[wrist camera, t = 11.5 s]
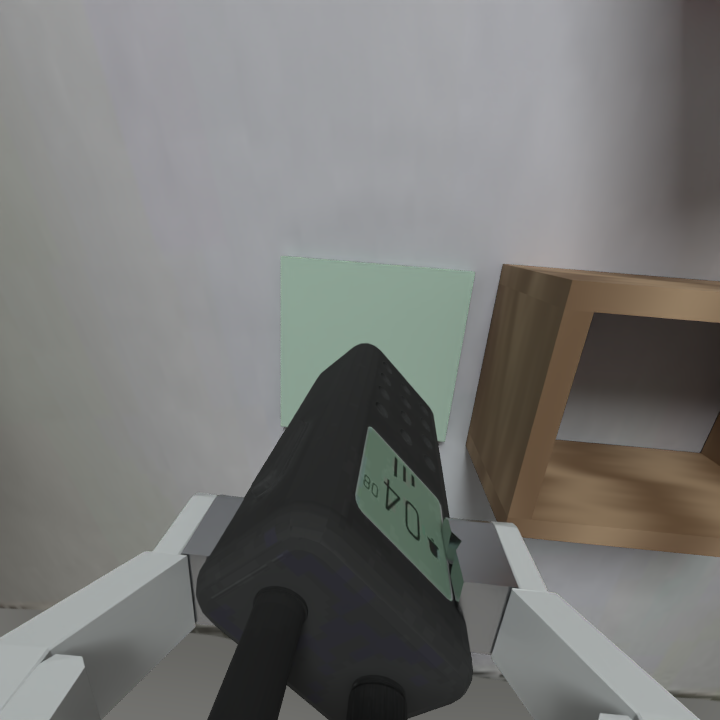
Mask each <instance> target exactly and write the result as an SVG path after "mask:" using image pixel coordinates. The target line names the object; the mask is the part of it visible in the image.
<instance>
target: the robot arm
mask: <svg viewBox="0 0 720 720" xmlns="http://www.w3.org/2000/svg"><path fill="white" fill-rule="evenodd" d="M243 499H244V497H236V496H227V495H215V494H207V493H199V492H198V493H197V494H195V495H193V496H192V497H191V499H190V500H189V501H188V503H187V504H186V506H185V507H184V508H183V510H182V511H181V513H180V514H179V515H178V517H177V518H176V519H175V521H174V522H173V524H172V525H171V526H170V528H169V529H168V531H167V532H166V533H165V535H164V536H163V538H162V539H161V540H160V542H159V543H158V544H157V546H156V547H155V549H154V550H153V551H152V552H151V551H144V552H143V553H141V554H139V555H138V556H136V557H134V558H133V559H131V560H129V561H128V562H126V563H124V564H123V565H121V566H119V567H118V568H116V569H114V570H112V571H111V572H109V573H107V574H106V575H104V576H102V577H101V578H99V579H97V580H96V581H94V582H92V583H91V584H89V585H87V586H86V587H84V588H82V589H81V590H79V591H77V592H76V593H74V594H72V595H71V596H69V597H67V598H66V599H64V600H62V601H61V602H59V603H57V604H56V605H54V606H52V607H50V608H49V609H47V610H45V611H44V612H42V613H40V614H39V615H37V616H35V617H34V618H32V619H30V620H29V621H27V622H25V623H24V624H22V625H21V626H19V627H17V628H15V629H14V630H12V631H10V632H9V633H7V634H5V635H4V636H2V637H0V720H102V719H103V718H104V717H105V716H106V715H107V714H108V713H109V712H110V711H111V710H112V709H113V708H114V707H115V706H116V705H117V704H118V703H119V702H120V701H121V700H122V699H123V698H124V697H125V696H126V695H127V694H128V693H129V692H130V691H131V690H132V689H133V688H134V687H135V686H136V685H137V684H138V683H139V682H140V681H141V680H142V679H143V678H144V677H145V676H146V675H147V674H148V673H149V672H150V671H151V670H152V669H153V668H154V667H155V666H156V665H157V664H158V663H159V662H160V661H161V660H162V659H163V658H164V657H165V656H166V655H167V654H168V653H169V652H170V651H171V650H172V649H173V648H174V647H175V646H176V645H177V644H179V642H180V641H182V640H183V639H184V638H185V637H186V636H187V635H188V634H189V633H190V632H191V631H192V630H193V629H194V628H195V624H206V625H214V624H213V623H212V622H211V621H210V620H209V619H208V618H207V617H206V616H205V615H204V614H203V613H202V610H201V608H200V606H199V604H198V601H197V597H196V584H197V577H198V574H199V571H200V569H201V568H202V566H203V564H204V563H205V561H206V560H207V558H208V557H209V556H210V554H211V553H212V551H213V549H214V548H215V546H216V544H217V543H218V541H219V539H220V538H221V536H222V535H223V533H224V531H225V530H226V528H227V526H228V525H229V523H230V521H231V520H232V518H233V516H234V515H235V513H236V511H237V510H238V508H239V506H240V505H241V503H242V501H243ZM441 533H442V538H443V543H444V548H445V553H446V557H447V559H448V561H449V564H450V565H451V567H452V570H451V574H450V577H451V581H452V586H453V591H454V595H455V600H456V604H457V608H458V610H459V611H460V613H461V615H462V620H463V621H464V623H465V624H466V626H467V633H468V639H469V645H470V652H473V653H480V654H488V655H491V658H492V660H493V661H494V663H495V664H496V666H497V667H498V668H499V670H500V671H501V673H502V674H503V676H504V677H505V679H506V680H507V681H508V683H509V684H510V686H511V687H512V689H513V690H514V691H515V693H516V695H517V696H518V697H519V699H520V700H521V702H522V703H523V705H524V706H525V707H526V709H527V710H528V712H529V713H530V715H531V716H532V718H533V719H534V720H700V719H699V718H697V717H696V716H695V715H694V714H693V713H692V712H691V711H689V710H688V709H687V708H686V707H685V706H684V705H683V704H682V703H680V702H679V701H678V700H677V699H676V698H675V697H674V696H673V695H671V694H670V693H669V692H668V691H667V690H666V689H665V688H663V687H662V686H661V685H660V684H659V683H658V682H657V681H656V680H654V679H653V678H652V677H651V676H650V675H649V674H648V673H646V672H645V671H644V670H643V669H642V668H641V667H640V666H639V665H637V664H636V663H635V662H634V661H633V660H632V659H631V658H629V657H628V656H627V655H626V654H625V653H624V652H623V651H622V650H620V649H619V648H618V647H617V646H616V645H615V644H614V643H612V642H611V641H610V640H609V639H608V638H607V637H606V636H605V635H603V634H602V633H601V632H600V631H599V630H598V629H597V628H595V627H594V626H593V625H592V624H591V623H590V622H589V621H588V620H586V619H585V618H584V617H583V616H582V615H581V614H580V613H578V612H577V611H576V610H575V609H574V608H573V607H572V606H571V605H569V604H568V603H567V602H566V601H565V600H564V599H563V598H562V597H560V596H559V595H558V594H557V593H554V592H548V590H547V588H546V586H545V584H544V581H543V579H542V577H541V575H540V573H539V571H538V569H537V567H536V565H535V563H534V561H533V559H532V557H531V555H530V553H529V551H528V548H527V546H526V544H525V542H524V540H523V538H522V536H521V534H520V532H519V530H518V528H517V526H516V525H515V524H513V523H506V522H494V521H490V522H488V521H479V520H468V519H457V518H445V519H444V521H443V524H442V529H441Z"/></svg>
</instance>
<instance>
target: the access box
mask: <svg viewBox="0 0 720 720" xmlns="http://www.w3.org/2000/svg"><path fill="white" fill-rule="evenodd" d="M594 312H598V313H609V314H621V315H633V316H645V317H657V318H669V319H681V320H693V321H705V322H717V323H720V282H719V281H707V280H695V279H682V278H670V277H658V276H645V275H633V274H621V273H608V272H596V271H584V270H571V269H559V268H547V267H534V266H522V265H510V264H503V267H502V271H501V276H500V281H499V286H498V291H497V296H496V301H495V306H494V310H493V315H492V320H491V325H490V330H489V335H488V340H487V345H486V349H485V354H484V359H483V364H482V369H481V374H480V379H479V384H478V388H477V393H476V398H475V403H474V408H473V413H472V418H471V422H470V427H469V432H468V437H467V442H466V447H467V450H468V452H469V455H470V457H471V459H472V462H473V464H474V467H475V469H476V472H477V474H478V477H479V479H480V481H481V484H482V486H483V489H484V491H485V494H486V496H487V498H488V501H489V503H490V506H491V508H492V511H493V513H494V516H495V518H496V520H497V522H506V523H513V524H515V525H516V526H517V528H518V530H519V532H520V534H521V536H522V537H523V538H534V539H544V540H554V541H564V542H574V543H584V544H594V545H604V546H614V547H624V548H634V549H644V550H654V551H664V552H674V553H684V554H694V555H704V556H714V557H720V413H719V415H718V417H717V420H716V422H715V424H714V426H713V428H712V430H711V432H710V434H709V437H708V439H707V441H706V443H705V445H704V447H703V449H702V451H701V453H694V452H683V451H673V450H662V449H651V448H640V447H629V446H619V445H608V444H597V443H586V442H576V441H565V440H555V439H556V436H557V433H558V430H559V426H560V423H561V420H562V416H563V413H564V410H565V406H566V403H567V400H568V397H569V393H570V390H571V387H572V383H573V380H574V377H575V373H576V370H577V367H578V364H579V360H580V357H581V354H582V350H583V347H584V344H585V340H586V337H587V334H588V331H589V327H590V324H591V321H592V317H593V314H594Z"/></svg>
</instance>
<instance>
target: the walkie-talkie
mask: <svg viewBox="0 0 720 720" xmlns="http://www.w3.org/2000/svg"><path fill="white" fill-rule="evenodd" d="M445 518H450V517H449V511H448V504H447V498H446V491H445V485H444V479H443V472H442V466H441V459H440V453H439V447H438V440H437V434H436V427H435V421H434V415H433V412H432V410H431V409H430V407H429V406H428V405H427V403H426V402H425V401H424V400H423V399H422V398H421V397H420V395H419V394H418V393H417V392H416V391H415V390H414V388H413V387H412V386H411V385H410V384H409V383H408V381H407V380H406V379H405V378H404V377H403V376H402V374H401V373H400V372H399V371H398V370H397V369H396V368H395V366H394V365H393V364H392V363H391V362H390V361H389V359H388V358H387V357H386V356H385V355H384V354H383V352H382V351H381V350H380V349H378V348H377V347H376V346H375V345H372V344H369V343H360V344H358V345H356V346H354V347H353V348H352V349H350V350H349V351H348V352H347V353H345V354H344V355H343V356H342V357H340V358H339V359H338V360H337V361H335V362H334V363H333V364H332V365H330V366H329V367H328V368H327V369H325V370H324V371H323V372H322V373H321V374H320V375H319V376H318V378H317V379H316V381H315V383H314V384H313V386H312V387H311V389H310V391H309V392H308V394H307V396H306V397H305V399H304V401H303V402H302V404H301V406H300V407H299V409H298V410H297V412H296V414H295V415H294V417H293V419H292V420H291V422H290V424H289V425H288V427H287V428H286V430H285V432H284V433H283V434H282V436H281V438H280V439H279V441H278V443H277V444H276V446H275V447H274V449H273V451H272V452H271V454H270V456H269V457H268V459H267V461H266V462H265V464H264V465H263V467H262V469H261V470H260V472H259V474H258V475H257V477H256V478H255V480H254V482H253V483H252V485H251V487H250V489H249V491H248V492H247V494H246V496H245V497H244V499H243V501H242V503H241V505H240V506H239V508H238V510H237V511H236V513H235V515H234V516H233V518H232V520H231V521H230V523H229V525H228V526H227V528H226V530H225V531H224V533H223V535H222V536H221V538H220V539H219V541H218V543H217V544H216V546H215V548H214V549H213V551H212V553H211V554H210V556H209V557H208V558H207V560H206V561H205V563H204V564H203V566H202V568H201V569H200V571H199V574H198V577H197V584H196V597H197V601H198V604H199V606H200V608H201V610H202V613H203V614H204V615H205V616H206V617H207V618H208V619H209V620H210V621H211V622H212V623H213V624H214V625H215V626H216V627H218V628H219V629H220V630H221V631H222V632H224V633H225V634H226V635H227V636H228V637H230V638H231V639H232V640H233V641H234V642H236V643H237V644H238V646H237V648H236V651H235V654H234V656H233V658H232V661H231V663H230V665H229V668H228V670H227V673H226V675H225V678H224V680H223V683H222V685H221V688H220V690H219V693H218V695H217V698H216V700H215V702H214V705H213V707H212V710H211V712H210V715H209V717H208V720H278V716H279V712H280V708H281V704H282V701H283V697H284V693H285V689H286V685H287V686H289V687H290V688H291V689H292V690H294V691H295V692H296V693H297V694H298V695H299V696H301V697H302V698H303V699H305V700H306V701H307V702H308V703H309V704H311V705H312V706H313V707H314V708H315V709H316V710H318V711H319V712H320V713H321V714H322V715H324V716H325V717H326V718H327V719H328V720H407V719H408V718H411V717H414V716H417V715H420V714H423V713H426V712H428V711H431V710H434V709H437V708H440V707H443V706H446V705H449V704H451V703H453V702H455V701H457V700H458V699H460V698H461V697H462V696H463V695H464V694H465V693H466V691H467V689H468V687H469V685H470V683H471V681H472V673H473V667H472V658H471V652H470V645H469V639H468V633H467V626H466V624H465V623H464V621H463V620H462V615H461V613H460V611H459V610H458V608H457V604H456V600H455V595H454V591H453V586H452V581H451V577H450V574H451V570H452V567H451V565H450V564H449V561H448V559H447V557H446V553H445V548H444V543H443V538H442V533H441V529H442V524H443V521H444V519H445Z"/></svg>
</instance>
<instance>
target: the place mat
mask: <svg viewBox="0 0 720 720" xmlns="http://www.w3.org/2000/svg"><path fill="white" fill-rule="evenodd" d="M474 277H475V272H472V271H461V270H449V269H436V268H424V267H412V266H400V265H388V264H375V263H363V262H351V261H339V260H327V259H314V258H302V257H290V256H281V426H282V427H288V425H289V424H290V422H291V420H292V419H293V417H294V415H295V414H296V412H297V410H298V409H299V407H300V406H301V404H302V402H303V401H304V399H305V397H306V396H307V394H308V392H309V391H310V389H311V387H312V386H313V384H314V383H315V381H316V379H317V378H318V376H319V375H320V374H321V373H322V372H323V371H324V370H325V369H327V368H328V367H329V366H330V365H332V364H333V363H334V362H335V361H337V360H338V359H339V358H340V357H342V356H343V355H344V354H345V353H347V352H348V351H349V350H350V349H352V348H353V347H354V346H356V345H358V344H360V343H369V344H372V345H375V346H376V347H377V348H378V349H380V350H381V351H382V352H383V354H384V355H385V356H386V357H387V358H388V359H389V361H390V362H391V363H392V364H393V365H394V366H395V368H396V369H397V370H398V371H399V372H400V373H401V374H402V376H403V377H404V378H405V379H406V380H407V381H408V383H409V384H410V385H411V386H412V387H413V388H414V390H415V391H416V392H417V393H418V394H419V395H420V397H421V398H422V399H423V400H424V401H425V402H426V403H427V405H428V406H429V407H430V409H431V410H432V412H433V415H434V421H435V427H436V434H437V440H438V441H443V442H445V437H446V431H447V426H448V420H449V415H450V409H451V404H452V398H453V393H454V387H455V382H456V376H457V371H458V365H459V359H460V354H461V348H462V343H463V337H464V332H465V326H466V321H467V315H468V310H469V304H470V299H471V293H472V288H473V282H474Z"/></svg>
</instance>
